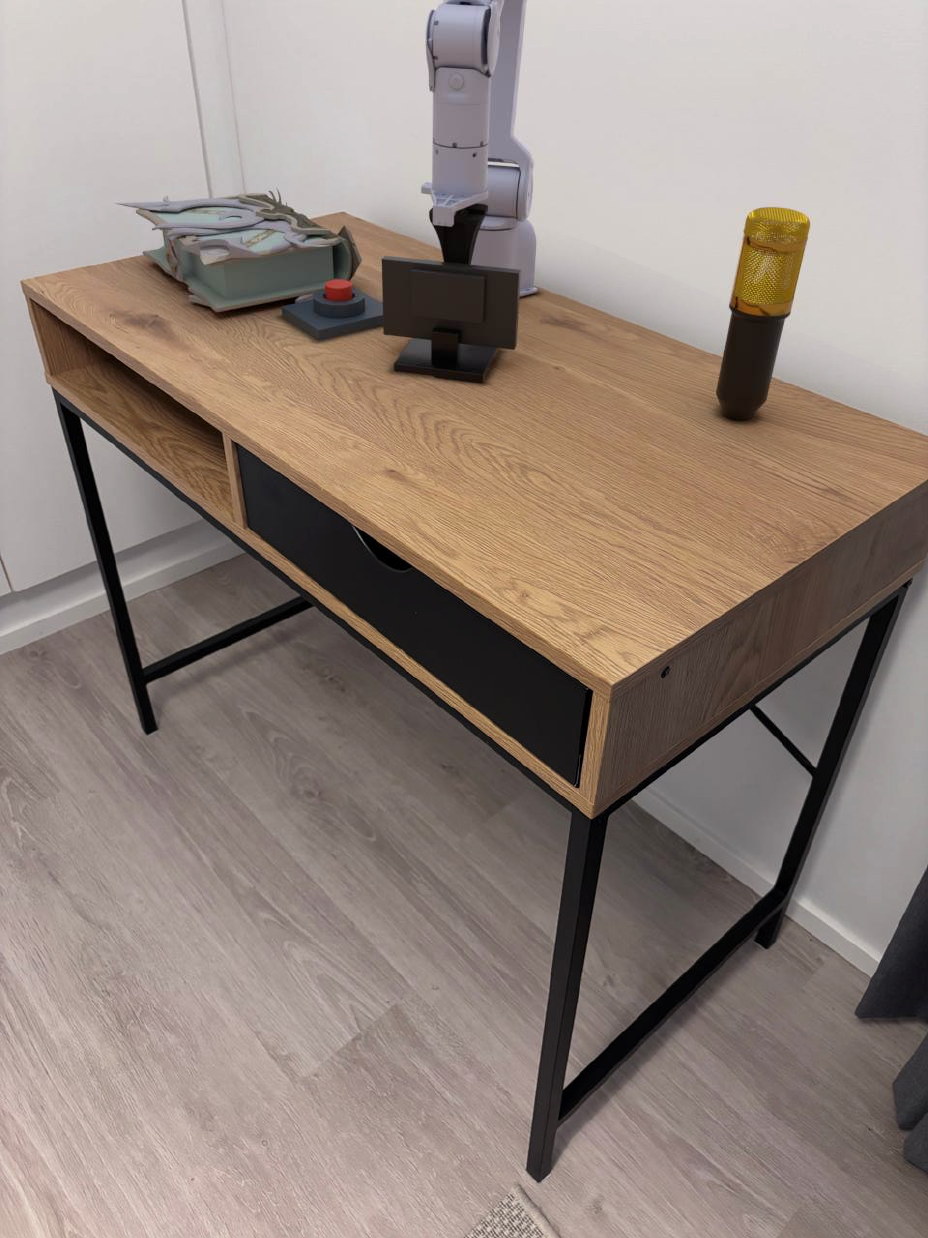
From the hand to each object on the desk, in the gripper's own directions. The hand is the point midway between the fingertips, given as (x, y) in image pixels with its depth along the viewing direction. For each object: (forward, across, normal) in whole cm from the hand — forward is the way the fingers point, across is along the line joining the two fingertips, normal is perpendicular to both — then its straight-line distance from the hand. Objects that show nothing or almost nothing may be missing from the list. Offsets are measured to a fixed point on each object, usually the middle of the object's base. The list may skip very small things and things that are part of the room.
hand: (457, 275), depth 110 cm
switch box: (+8, -5, -16) cm, 18 cm away
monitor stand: (+8, +3, 0) cm, 9 cm away
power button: (+6, -5, -16) cm, 17 cm away
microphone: (+9, +6, +29) cm, 31 cm away
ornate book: (+9, -15, -33) cm, 37 cm away
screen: (+6, +4, 0) cm, 7 cm away
